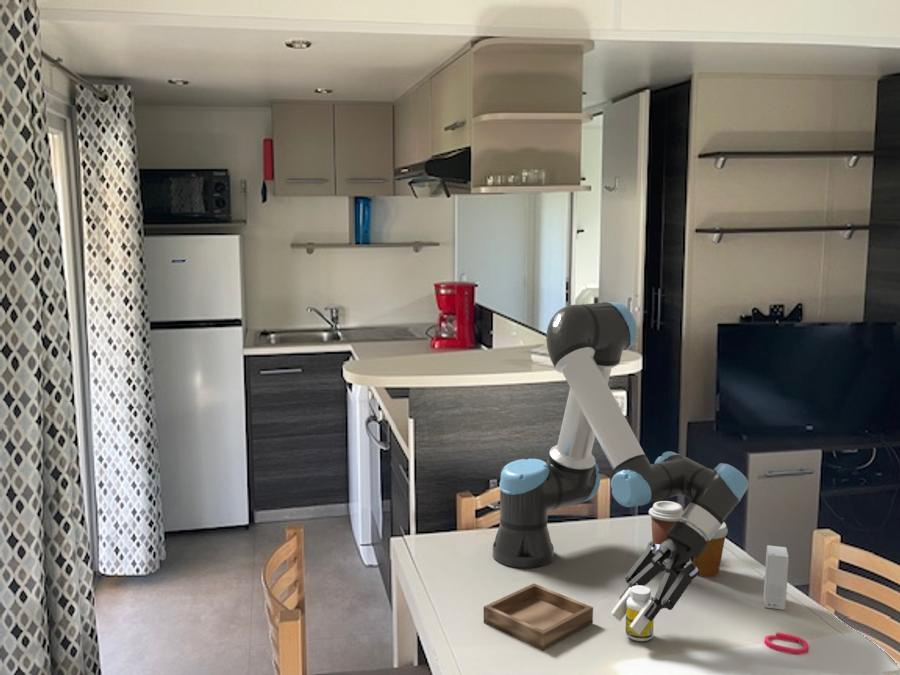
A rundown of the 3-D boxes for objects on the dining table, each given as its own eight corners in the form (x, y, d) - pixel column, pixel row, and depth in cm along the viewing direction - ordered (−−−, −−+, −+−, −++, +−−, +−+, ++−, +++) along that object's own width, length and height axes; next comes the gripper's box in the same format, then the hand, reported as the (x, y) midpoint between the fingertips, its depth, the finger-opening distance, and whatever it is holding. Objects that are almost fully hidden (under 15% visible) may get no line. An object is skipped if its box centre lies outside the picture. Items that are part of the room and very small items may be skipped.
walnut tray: (483, 622, 178) (483, 606, 178) (533, 598, 190) (533, 583, 189) (543, 650, 167) (543, 633, 167) (592, 623, 178) (593, 607, 178)
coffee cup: (647, 556, 212) (649, 510, 210) (647, 542, 221) (648, 498, 219) (685, 560, 210) (687, 513, 208) (683, 546, 219) (685, 500, 217)
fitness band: (809, 645, 170) (809, 637, 170) (807, 658, 165) (807, 651, 165) (765, 636, 174) (766, 629, 173) (762, 649, 168) (762, 642, 168)
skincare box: (785, 610, 184) (789, 557, 182) (764, 608, 185) (767, 555, 183) (783, 598, 190) (786, 546, 188) (763, 596, 191) (766, 544, 189)
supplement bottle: (622, 629, 175) (623, 583, 173) (648, 628, 175) (649, 582, 174) (629, 642, 170) (631, 595, 168) (656, 641, 170) (658, 594, 169)
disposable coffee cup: (727, 581, 198) (730, 532, 196) (685, 578, 200) (687, 529, 198) (723, 565, 207) (725, 517, 205) (682, 561, 209) (684, 514, 207)
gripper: (735, 558, 168) (665, 654, 164) (672, 526, 185) (607, 613, 180) (715, 536, 165) (644, 634, 161) (653, 506, 182) (587, 594, 177)
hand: (624, 623), depth 170 cm, fingers closed on supplement bottle, 5 cm apart
